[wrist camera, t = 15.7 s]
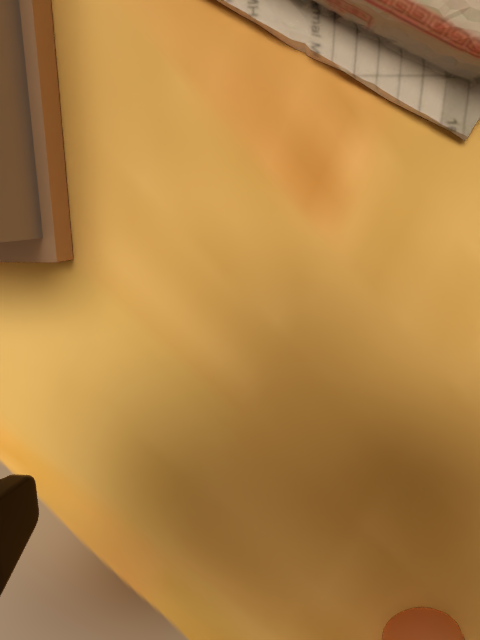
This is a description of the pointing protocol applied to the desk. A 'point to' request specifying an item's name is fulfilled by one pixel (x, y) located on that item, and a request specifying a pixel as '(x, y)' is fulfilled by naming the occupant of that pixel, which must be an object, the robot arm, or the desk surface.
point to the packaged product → (389, 48)
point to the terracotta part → (422, 626)
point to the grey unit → (31, 138)
